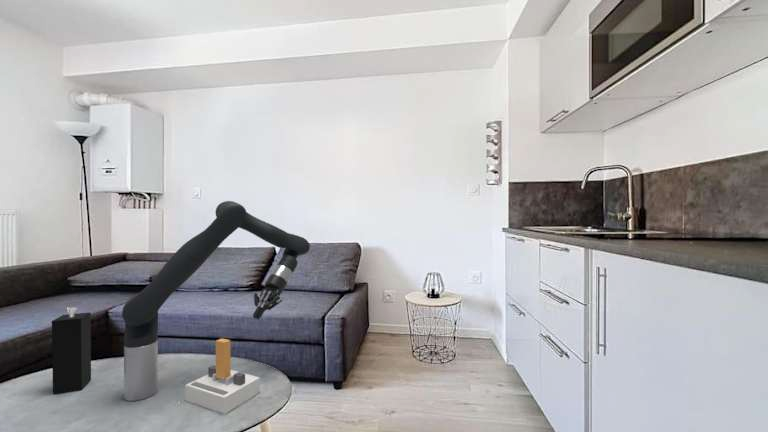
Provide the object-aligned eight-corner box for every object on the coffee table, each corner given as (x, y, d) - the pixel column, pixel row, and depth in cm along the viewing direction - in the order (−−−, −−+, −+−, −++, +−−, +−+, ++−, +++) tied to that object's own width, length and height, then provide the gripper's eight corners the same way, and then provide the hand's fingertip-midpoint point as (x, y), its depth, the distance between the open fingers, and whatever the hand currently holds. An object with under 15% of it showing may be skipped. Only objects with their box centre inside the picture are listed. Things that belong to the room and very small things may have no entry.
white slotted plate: (185, 400, 111) (185, 375, 111) (222, 381, 124) (222, 359, 124) (224, 414, 104) (224, 387, 103) (259, 392, 116) (259, 368, 116)
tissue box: (81, 390, 118) (80, 308, 118) (52, 395, 115) (51, 311, 115) (91, 380, 125) (90, 303, 125) (63, 384, 122) (63, 305, 122)
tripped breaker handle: (215, 379, 113) (215, 340, 113) (222, 376, 116) (221, 338, 116) (224, 382, 112) (224, 342, 112) (230, 379, 114) (230, 340, 114)
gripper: (261, 272, 138) (236, 310, 127) (287, 274, 132) (263, 315, 121) (271, 283, 143) (247, 321, 132) (296, 286, 137) (274, 325, 126)
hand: (255, 318), depth 126 cm, fingers closed
